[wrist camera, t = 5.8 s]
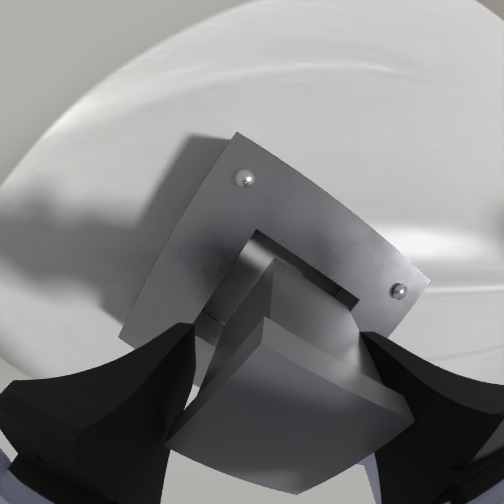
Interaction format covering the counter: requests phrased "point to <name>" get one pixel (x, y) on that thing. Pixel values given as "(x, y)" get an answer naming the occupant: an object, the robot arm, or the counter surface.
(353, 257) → the socket plate
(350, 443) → the plug
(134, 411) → the robot arm
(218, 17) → the counter surface
